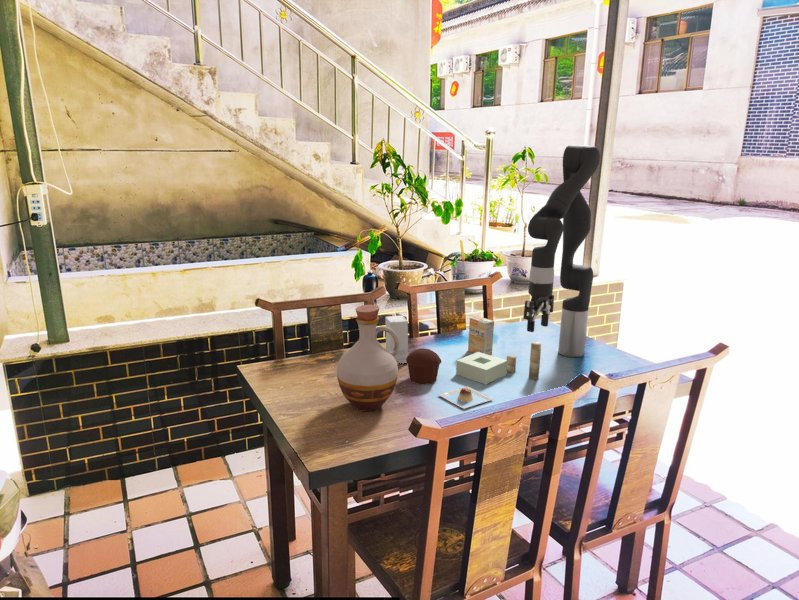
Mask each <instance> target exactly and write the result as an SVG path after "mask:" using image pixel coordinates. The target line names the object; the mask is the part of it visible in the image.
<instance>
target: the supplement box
mask: <svg viewBox="0 0 799 600" xmlns="http://www.w3.org/2000/svg"><path fill="white" fill-rule="evenodd" d="M468 326H469V327H468V329H469V330H468V342H467V343H468V344H467V345H468V346H467V351H468V352H470V353H472V354H474V353H476V352H481V353H484V354H487V355H491V356H492V355H493V345H494V329H495V327H494V326H495V320H491V319H490V318H486V317H483V316H479V315H475V316H470V317H469V325H468Z"/></svg>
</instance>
